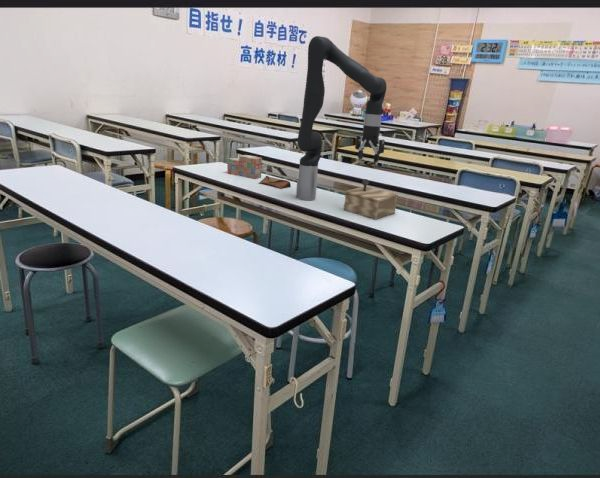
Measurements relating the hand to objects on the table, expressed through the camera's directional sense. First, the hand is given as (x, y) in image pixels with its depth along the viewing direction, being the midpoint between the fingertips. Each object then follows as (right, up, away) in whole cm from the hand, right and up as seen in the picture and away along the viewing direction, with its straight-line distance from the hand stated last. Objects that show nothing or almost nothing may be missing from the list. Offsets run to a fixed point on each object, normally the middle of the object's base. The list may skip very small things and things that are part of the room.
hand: (367, 160), depth 202 cm
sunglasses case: (-46, -6, +45) cm, 65 cm away
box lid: (+2, -16, +3) cm, 16 cm away
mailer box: (+2, -23, +6) cm, 24 cm away
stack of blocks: (-65, +2, +63) cm, 91 cm away
